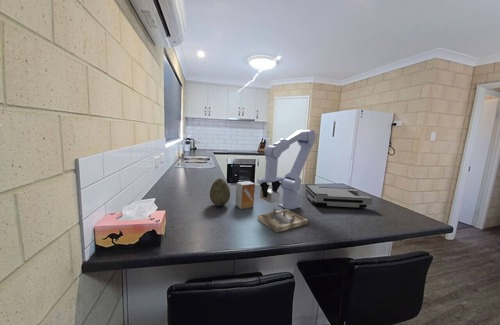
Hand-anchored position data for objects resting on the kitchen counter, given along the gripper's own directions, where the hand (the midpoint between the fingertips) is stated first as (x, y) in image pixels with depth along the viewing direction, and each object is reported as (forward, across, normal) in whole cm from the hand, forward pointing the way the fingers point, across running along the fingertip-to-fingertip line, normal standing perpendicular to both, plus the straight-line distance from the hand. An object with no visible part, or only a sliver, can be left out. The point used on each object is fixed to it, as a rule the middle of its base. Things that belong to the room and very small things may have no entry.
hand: (269, 196), depth 104 cm
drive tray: (+8, +1, +12) cm, 15 cm away
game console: (+9, -47, +6) cm, 48 cm away
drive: (+2, 0, 0) cm, 2 cm away
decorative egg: (+9, +19, -18) cm, 28 cm away
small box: (+9, +7, -12) cm, 16 cm away
